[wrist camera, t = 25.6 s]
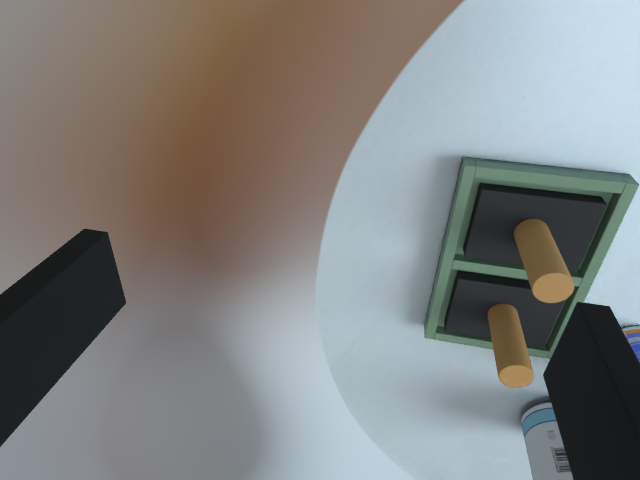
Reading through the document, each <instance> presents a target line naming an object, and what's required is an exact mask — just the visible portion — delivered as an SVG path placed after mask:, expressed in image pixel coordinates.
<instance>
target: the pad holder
mask: <svg viewBox="0 0 640 480" xmlns="http://www.w3.org/2000/svg"><path fill="white" fill-rule="evenodd" d="M480 183H487V184H496V185H505V186H513V187H522V188H531V189H539V190H548V191H557V192H566V193H574V194H583V195H592V196H601V197H602V198H603V199H604V201H605V202H606V203H607V206H606V208H605V211H604V213H603V215H602V217H601V220H600V222H599V224H598V227H597V229H596V231H595V233H594V236H593V238H592V240H591V242H590V245H589V247H588V249H587V251H586V254H585V256H584V258H583V260H582V263H581V265H580V267H579V269H578V272H571V271H569V273H570V275H571V277H572V279H573V282H574V290H573V293H572V294H571V295H570V296H569V297H568V298H567V299H565V301H564V303H563V305H562V308H561V310H560V312H559V314H558V317H557V319H556V321H555V324H554V326H553V328H552V330H551V333H550V335H549V337H548V339H547V342H546V344H545V346H544V347H539V346H533V345H527V344H526V346H527V350H528V354H529V355H530V356H536V357H542V358H549V359H551V357H552V355H553V353H554V350H555V348H556V346H557V344H558V342H559V340H560V338H561V335H562V333H563V331H564V329H565V327H566V325H567V322H568V320H569V318H570V316H571V314H572V312H573V309H574V307H575V305H576V303H577V302H584V300H585V298H586V296H587V294H588V292H589V290H590V287H591V285H592V283H593V281H594V279H595V277H596V275H597V273H598V271H599V268H600V266H601V264H602V262H603V260H604V258H605V256H606V254H607V252H608V250H609V247H610V245H611V243H612V241H613V239H614V237H615V235H616V233H617V231H618V228H619V226H620V224H621V222H622V220H623V218H624V216H625V214H626V212H627V209H628V207H629V205H630V203H631V201H632V199H633V197H634V195H635V193H636V191H637V188H638V186H639V184H638V183H637V182H636V181H635V180H634V179H633V177H632V176H631V175H628V174H619V173H610V172H601V171H591V170H582V169H573V168H563V167H554V166H545V165H535V164H526V163H517V162H507V161H498V160H489V159H479V158H470V157H463V158H462V162H461V166H460V171H459V175H458V180H457V184H456V188H455V193H454V197H453V202H452V206H451V210H450V215H449V219H448V224H447V228H446V233H445V237H444V241H443V246H442V250H441V255H440V259H439V264H438V268H437V272H436V277H435V281H434V286H433V290H432V294H431V299H430V303H429V308H428V312H427V317H426V321H425V325H424V329H425V338H429V339H434V340H440V341H446V342H452V343H458V344H464V345H470V346H476V347H482V348H488V349H493V343H492V339H491V338H484V337H478V336H472V335H466V334H460V333H454V332H448V331H445V328H444V320H445V316H446V312H447V309H448V305H449V301H450V297H451V293H452V289H453V285H454V281H455V277H456V274H457V271H458V270H459V271H466V272H473V273H480V274H487V275H494V276H501V277H508V278H515V279H522V280H528V277H527V274H526V271H525V268H524V265H521V264H514V263H507V262H499V261H492V260H485V259H478V258H471V257H464V251H463V246H464V242H465V239H466V235H467V231H468V227H469V223H470V219H471V215H472V211H473V207H474V204H475V200H476V196H477V192H478V188H479V184H480Z"/></svg>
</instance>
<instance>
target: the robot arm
mask: <svg viewBox="0 0 640 480" xmlns="http://www.w3.org/2000/svg"><path fill="white" fill-rule="evenodd" d="M125 304H126V300H125V296H124V293H123V289H122V285H121V281H120V277H119V274H118V270H117V266H116V262H115V258H114V255H113V251H112V247H111V243H110V240H109V236H108V233H107V232H103V231H96V230H90V229H83V230H82V231H81V232H80V233H78V234H77V235H76V236H74V237H73V238H72V239H71V240H69V241H68V242H67V243H66V244H64V245H63V246H62V247H61V248H59V249H58V250H57V251H55V252H54V253H53V254H52V255H50V256H49V257H48V258H46V259H45V260H44V261H43V262H41V263H40V264H39V265H38V266H36V267H35V268H34V269H32V270H31V271H30V272H29V273H27V274H26V275H25V276H23V277H22V278H21V279H20V280H18V281H17V282H16V283H15V284H13V285H12V286H11V287H9V288H8V289H7V290H6V291H4V292H3V293H2V294H1V295H0V447H1V445H2V444H3V443H4V442H5V441H6V440H7V439H8V437H9V436H10V435H11V434H12V433H13V432H14V431H15V429H16V428H17V427H18V426H19V425H20V424H21V423H22V421H23V420H24V419H25V418H26V417H27V416H28V414H29V413H30V412H31V411H32V410H33V409H34V408H35V407H36V405H37V404H38V403H39V402H40V401H41V400H42V399H43V397H44V396H45V395H46V394H47V393H48V392H49V390H50V389H51V388H52V387H53V386H54V385H55V384H56V383H57V381H58V380H59V379H60V378H61V377H62V376H63V374H64V373H65V372H66V371H67V370H68V369H69V368H70V366H71V365H72V364H73V363H74V362H75V361H76V360H77V358H78V357H79V356H80V355H81V354H82V353H83V352H84V350H85V349H86V348H87V347H88V346H89V345H90V344H91V342H92V341H93V340H94V339H95V338H96V337H97V336H98V334H99V333H100V332H101V331H102V330H103V329H104V328H105V326H106V325H107V324H108V323H109V322H110V321H111V320H112V318H113V317H114V316H115V315H116V314H117V313H118V312H119V310H120V309H121V308H122V307H123V306H124V305H125ZM543 376H544V379H545V383H546V386H547V390H548V393H549V397H550V400H551V404H552V407H553V411H554V414H555V417H556V421H557V424H558V428H559V431H560V435H561V438H562V442H563V445H564V449H565V452H566V456H567V459H568V463H569V466H570V469H571V473H572V476H573V480H640V362H639V360H638V358H637V357H636V355H635V353H634V351H633V349H632V347H631V345H630V344H629V342H628V340H627V338H626V336H625V334H624V332H623V331H622V329H621V327H620V325H619V323H618V321H617V319H616V318H615V316H614V314H613V312H612V310H611V308H610V306H603V305H596V304H589V303H583V302H577V303H576V305H575V307H574V309H573V312H572V314H571V316H570V318H569V320H568V322H567V325H566V327H565V329H564V331H563V333H562V335H561V338H560V340H559V342H558V344H557V346H556V348H555V350H554V353H553V355H552V357H551V359H550V361H549V363H548V366H547V368H546V370H545V372H544V374H543Z"/></svg>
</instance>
